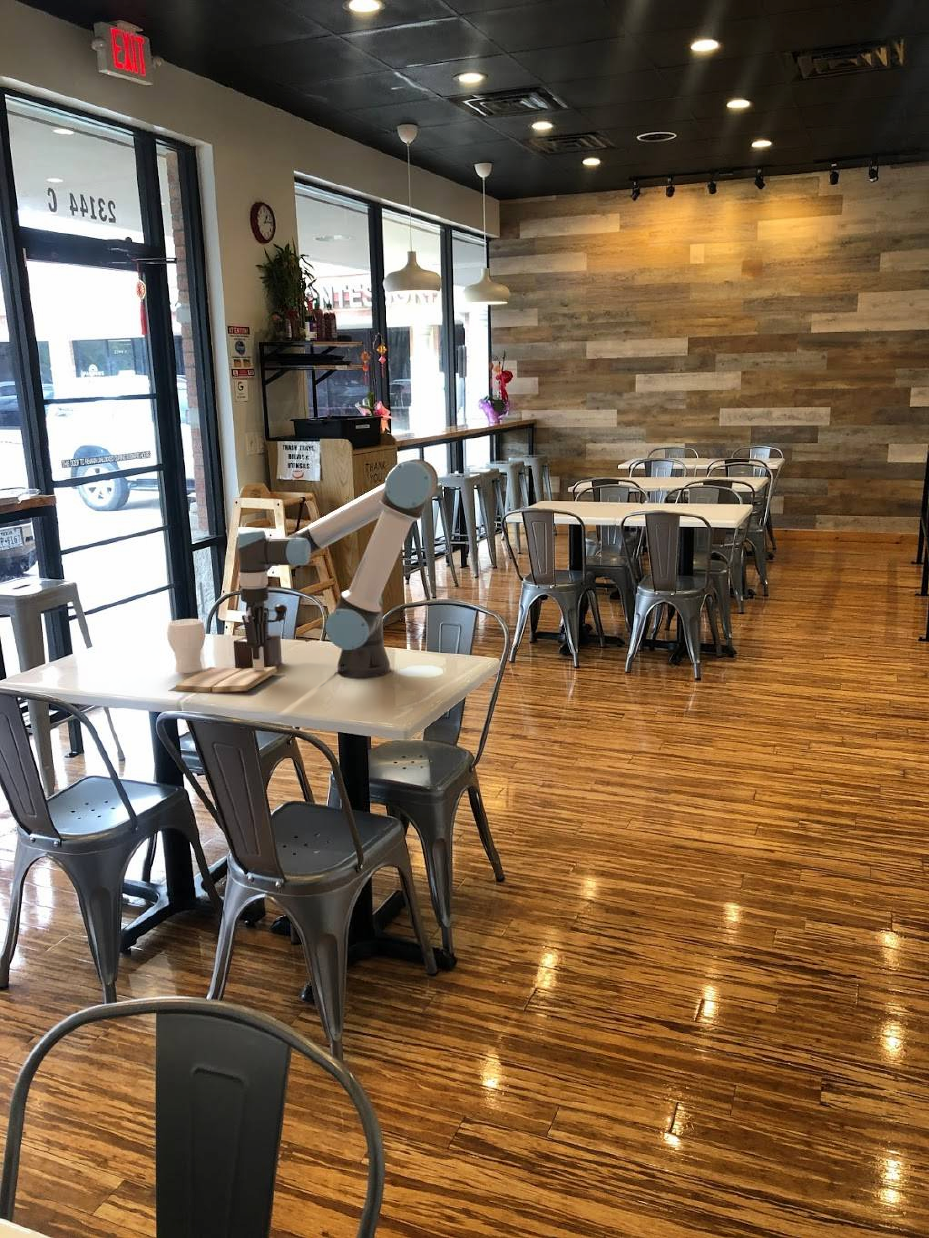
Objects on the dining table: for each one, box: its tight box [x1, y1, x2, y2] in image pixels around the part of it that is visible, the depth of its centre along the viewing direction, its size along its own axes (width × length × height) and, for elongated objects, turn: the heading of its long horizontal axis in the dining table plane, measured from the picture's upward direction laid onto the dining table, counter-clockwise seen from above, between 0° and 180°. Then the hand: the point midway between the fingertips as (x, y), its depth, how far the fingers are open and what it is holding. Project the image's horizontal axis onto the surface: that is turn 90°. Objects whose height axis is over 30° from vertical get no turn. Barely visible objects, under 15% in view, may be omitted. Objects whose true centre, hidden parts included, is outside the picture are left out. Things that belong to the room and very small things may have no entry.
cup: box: [166, 618, 206, 674], centre depth 303 cm, size 11×11×15 cm
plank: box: [212, 667, 278, 692], centre depth 288 cm, size 10×20×2 cm, turn 167°
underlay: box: [167, 674, 286, 696], centre depth 289 cm, size 25×21×1 cm
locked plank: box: [175, 666, 242, 693], centre depth 290 cm, size 10×20×2 cm, turn 167°
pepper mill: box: [233, 603, 288, 669], centre depth 308 cm, size 16×11×18 cm
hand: (258, 669), depth 293 cm, fingers closed
